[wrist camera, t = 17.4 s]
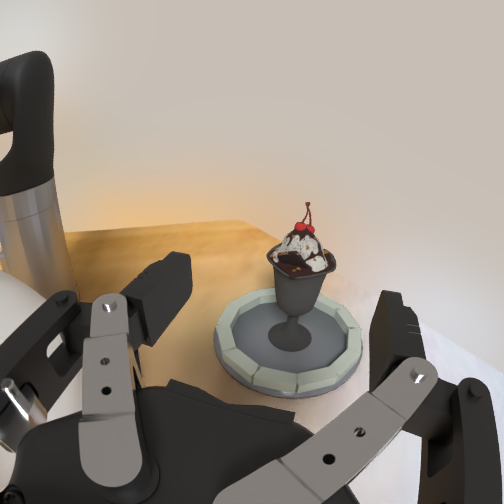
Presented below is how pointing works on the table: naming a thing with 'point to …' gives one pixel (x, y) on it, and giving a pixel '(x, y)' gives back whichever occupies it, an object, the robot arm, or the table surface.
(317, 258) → the sundae
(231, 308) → the tray
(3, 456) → the decorative vase
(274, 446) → the robot arm
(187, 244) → the table surface
